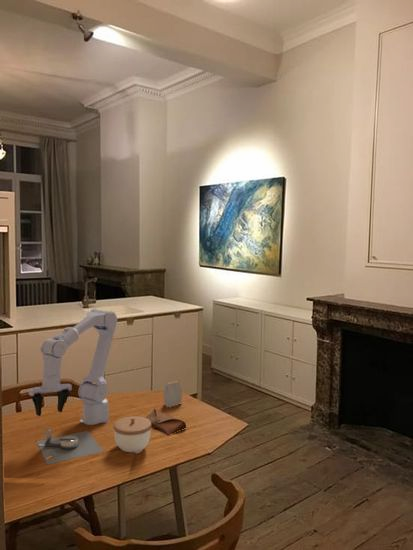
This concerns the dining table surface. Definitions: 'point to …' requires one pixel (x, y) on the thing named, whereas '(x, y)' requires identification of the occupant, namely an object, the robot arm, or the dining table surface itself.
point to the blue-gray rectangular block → (172, 394)
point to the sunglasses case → (165, 422)
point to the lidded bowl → (132, 433)
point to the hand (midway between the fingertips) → (49, 413)
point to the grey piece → (62, 441)
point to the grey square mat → (57, 454)
